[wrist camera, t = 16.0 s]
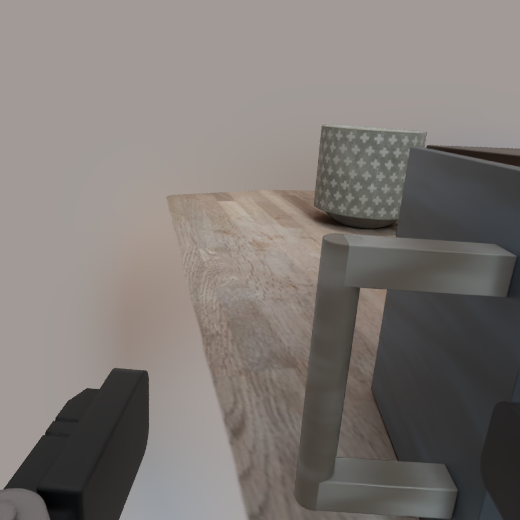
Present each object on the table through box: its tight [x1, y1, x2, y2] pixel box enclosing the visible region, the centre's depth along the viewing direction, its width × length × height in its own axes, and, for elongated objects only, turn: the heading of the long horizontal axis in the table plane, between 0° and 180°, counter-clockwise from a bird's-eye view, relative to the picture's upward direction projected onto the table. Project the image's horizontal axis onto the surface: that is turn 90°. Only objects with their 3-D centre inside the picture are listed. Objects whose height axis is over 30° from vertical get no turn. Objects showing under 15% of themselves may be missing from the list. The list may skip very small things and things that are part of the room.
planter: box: [314, 125, 427, 229], centre depth 87 cm, size 19×19×18 cm
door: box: [294, 147, 520, 520], centre depth 24 cm, size 8×16×18 cm, turn 179°
